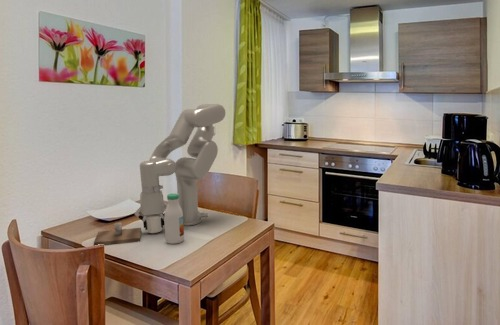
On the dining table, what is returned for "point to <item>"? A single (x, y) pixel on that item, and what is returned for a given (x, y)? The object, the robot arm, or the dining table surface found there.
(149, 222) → the pale grey short cylinder
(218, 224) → the dining table surface
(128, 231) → the post base
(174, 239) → the milk bottle
